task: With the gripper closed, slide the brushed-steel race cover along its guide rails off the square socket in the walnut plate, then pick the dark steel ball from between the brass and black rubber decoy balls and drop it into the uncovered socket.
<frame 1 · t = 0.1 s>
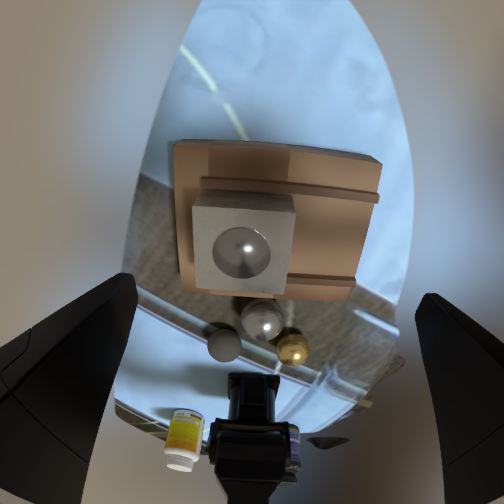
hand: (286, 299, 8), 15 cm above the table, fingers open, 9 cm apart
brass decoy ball: (292, 350, 28), point 2 cm above the table
steel ball: (262, 319, 26), point 2 cm above the table
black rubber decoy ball: (224, 345, 28), point 2 cm above the table
supplement bottle: (189, 414, 42), on the table
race: (243, 242, 19), point 4 cm above the table, slide at 0.0 cm
pill bottle: (281, 428, 43), on the table
housing plate: (272, 218, 23), on the table
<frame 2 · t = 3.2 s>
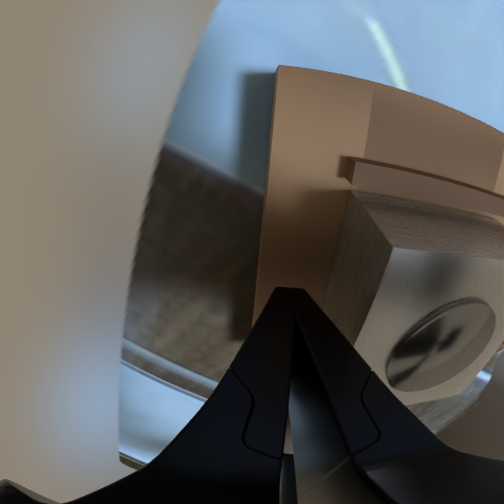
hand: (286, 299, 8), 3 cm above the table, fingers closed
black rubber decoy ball: (293, 430, 16), point 2 cm above the table
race: (426, 316, 7), point 4 cm above the table, slide at 0.2 cm, touching gripper
housing plate: (420, 251, 11), on the table
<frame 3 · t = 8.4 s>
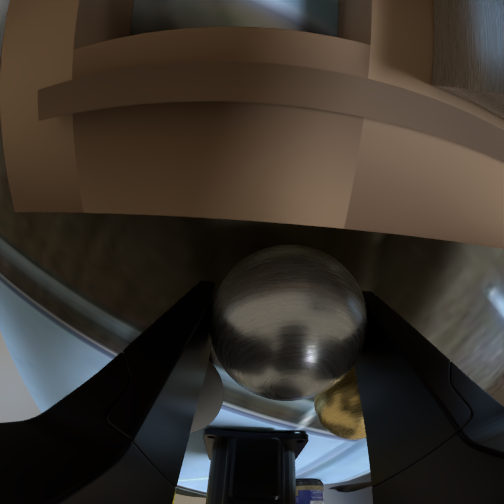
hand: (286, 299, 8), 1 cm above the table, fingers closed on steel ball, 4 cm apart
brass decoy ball: (357, 398, 10), point 2 cm above the table
steel ball: (288, 323, 7), point 2 cm above the table, touching gripper
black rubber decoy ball: (177, 390, 10), point 2 cm above the table
pill bottle: (296, 482, 25), on the table
when the fingers open (4 cm above the table, at t = 11.7 s): steel ball drops 3 cm, point 2 cm above the table.
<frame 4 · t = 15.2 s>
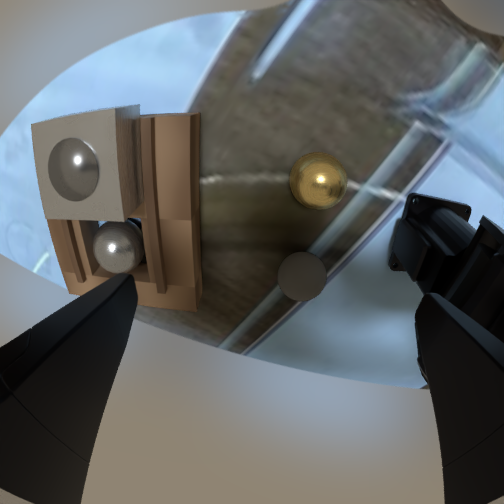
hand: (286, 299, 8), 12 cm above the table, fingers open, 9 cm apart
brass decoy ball: (318, 180, 16), point 2 cm above the table
steel ball: (118, 245, 19), point 2 cm above the table, tilted 6°
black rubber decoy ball: (302, 276, 20), point 2 cm above the table
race: (85, 162, 14), point 4 cm above the table, slide at 6.8 cm
housing plate: (123, 209, 20), on the table
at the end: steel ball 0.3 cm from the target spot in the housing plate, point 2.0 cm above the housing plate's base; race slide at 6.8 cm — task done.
